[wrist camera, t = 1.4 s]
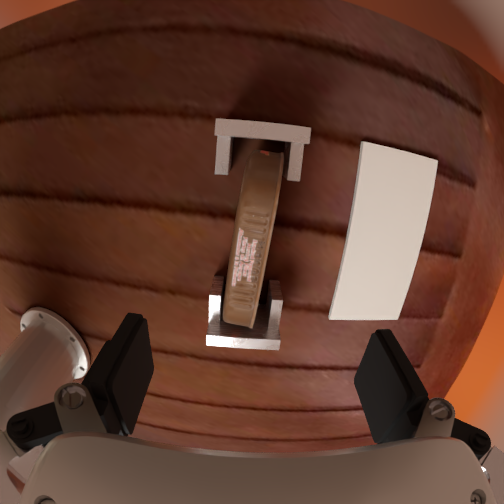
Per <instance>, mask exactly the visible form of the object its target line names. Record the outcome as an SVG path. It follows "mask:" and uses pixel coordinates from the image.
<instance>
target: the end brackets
mask: <svg viewBox="0 0 504 504" xmlns="http://www.w3.org/2000/svg"><path fill="white" fill-rule="evenodd" d="M310 134H311V128H309V127H302V126H295V125H287V124H278V123H269V122H259V121H247V120H233V119H216V124H215V135H216V136H218V137H217V150H216V164H215V174H222V175H228V174H229V172H230V170H231V162H232V150H233V138H234V137H236V138H250V139H261V140H271V141H280V142H285V147H284V162H283V173H282V175H283V176H284V177H285V178H286V179H287V180H291V181H300V176H301V168H302V159H303V150H304V144H309V143H310ZM223 286H224V276H216V275H214V278H213V282H212V287H211V291H210V295H209V325H208V330H207V335H206V344H207V345H209V346H220V347H233V348H247V349H266V350H279V346H280V341H281V339H280V333H279V322H280V316H281V310H282V304H283V297H282V292H281V287H280V282H279V280H269V286H268V294H267V301H266V304H258V308H257V313H256V317H255V321H254V325H253V328H249V327H247V326H241V325H235V324H230V323H227V322H225V321H224V320H223V306H224V301H223Z"/></svg>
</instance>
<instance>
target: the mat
mask: <svg viewBox="0 0 504 504" xmlns="http://www.w3.org/2000/svg"><path fill="white" fill-rule="evenodd" d="M437 164H438V160H434V159H431V158H428V157H424V156H421V155H417V154H414V153H410V152H406V151H402V150H398V149H394V148H390V147H386V146H382V145H377V144H373V143H368V142H364V141H361V147H360V155H359V163H358V170H357V177H356V184H355V191H354V197H353V203H352V209H351V215H350V220H349V226H348V231H347V236H346V242H345V247H344V251H343V256H342V261H341V266H340V270H339V275H338V279H337V283H336V288H335V292H334V296H333V300H332V304H331V308H330V312H329V316H328V317H329V319H330V320H398V317H399V314H400V311H401V309H402V306H403V303H404V300H405V297H406V294H407V291H408V288H409V285H410V282H411V279H412V276H413V272H414V269H415V266H416V262H417V259H418V255H419V251H420V248H421V244H422V240H423V236H424V232H425V228H426V223H427V219H428V214H429V210H430V205H431V200H432V194H433V189H434V183H435V177H436V170H437Z"/></svg>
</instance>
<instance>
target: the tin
mask: <svg viewBox="0 0 504 504" xmlns="http://www.w3.org/2000/svg"><path fill="white" fill-rule="evenodd" d="M283 162H284V153H282V152H281V153H275V152H269V151H264V150H254V151H253V152H252V154H251V155H250V156H249V158H248V160H247V163H246V166H245V170H244V175H243V179H242V184H241V189H240V195H239V201H238V206H237V212H236V218H235V225H234V231H233V238H232V244H231V251H230V258H229V265H228V273H227V280H226V289H225V297H224V306H223V320H224V321H225V322H227V323H230V324H235V325H241V326H247V327H249V328H253V325H254V321H255V317H256V313H257V308H258V303H259V298H260V293H261V288H262V283H263V278H264V273H265V267H266V263H267V257H268V252H269V247H270V242H271V237H272V231H273V227H274V222H275V216H276V211H277V205H278V199H279V193H280V187H281V180H282V173H283Z"/></svg>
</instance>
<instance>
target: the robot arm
mask: <svg viewBox="0 0 504 504" xmlns="http://www.w3.org/2000/svg"><path fill="white" fill-rule="evenodd" d="M20 325H21V333H20V335H19V336H18V337H17V338H16V339H15V340H14V341H13V342H12V344H11V345H10V346H9V347H8V348H7V349H6V351H5V352H4V353H3V354H2V355H1V356H0V504H504V453H503V452H502V451H500V450H499V449H498V448H497V447H495V446H493V447H491V441H490V438H489V436H488V434H487V433H486V432H484V431H483V430H481V429H478V428H476V427H474V426H471V425H469V424H467V423H465V422H462V421H461V420H458V419H456V418H455V410H454V407H453V406H452V404H450V403H449V402H448V401H447V400H445V399H442V398H433V399H430V400H429V398H428V393H427V391H426V389H425V387H424V386H423V384H422V382H421V380H420V379H419V377H418V375H417V373H416V372H415V370H414V368H413V366H412V365H411V363H410V361H409V360H408V358H407V356H406V354H405V353H404V351H403V349H402V348H401V346H400V344H399V343H398V341H397V340H396V338H395V336H394V335H393V333H392V331H391V330H390V329H378V330H376V331H375V333H373V334H372V335H371V338H370V340H369V343H368V345H367V348H366V351H365V353H364V356H363V358H362V360H361V363H360V365H359V368H358V370H357V372H356V375H355V377H354V384H355V387H356V390H357V393H358V396H359V399H360V401H361V404H362V407H363V410H364V413H365V416H366V419H367V422H368V425H369V428H370V431H371V434H372V437H373V440H374V442H375V443H377V444H376V445H370V446H363V447H356V448H348V449H339V450H328V451H314V452H293V453H255V452H234V451H220V450H209V449H200V448H192V447H184V446H177V445H171V444H165V443H159V442H153V441H147V440H142V439H137V438H132V437H127V436H128V434H130V435H131V434H132V433H133V430H134V427H135V424H136V421H137V418H138V415H139V412H140V409H141V406H142V403H143V400H144V398H145V395H146V392H147V389H148V386H149V383H150V380H151V378H152V375H153V371H154V365H153V359H152V352H151V346H150V339H149V332H148V325H147V320H146V319H145V318H143V316H142V315H141V314H135V313H128V314H127V315H126V317H125V318H124V320H123V321H122V323H121V325H120V326H119V328H118V330H117V331H116V333H115V335H114V336H113V338H112V340H111V341H110V340H108V341H106V343H105V344H104V346H103V347H102V349H101V351H100V352H99V354H98V356H97V357H96V359H95V361H94V362H93V364H92V366H91V368H90V369H89V366H90V356H89V353H88V349H87V347H86V345H85V343H84V342H83V340H82V338H81V337H80V335H79V334H78V333H77V332H76V330H75V329H74V328H73V327H72V326H71V325H70V324H69V323H68V322H67V321H66V320H64V319H63V318H62V317H61V316H59V315H57V314H56V313H54V312H52V311H50V310H48V309H45V308H42V307H34V308H31V309H29V310H27V311H26V313H25V314H24V315H23V316H22V318H21V323H20ZM88 369H89V371H88ZM87 371H88V373H87V375H86V376H85V378H84V380H83V382H82V383H81V384H79V383H71V382H72V380H73V379H78V378H81V377H83V376H84V375H85V374H86V372H87Z"/></svg>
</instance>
